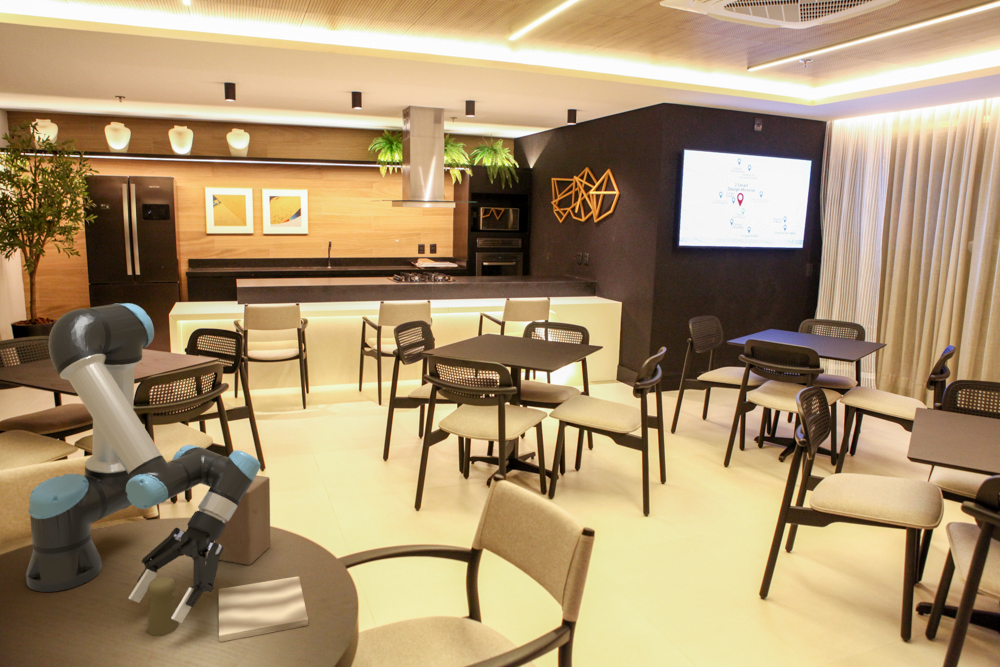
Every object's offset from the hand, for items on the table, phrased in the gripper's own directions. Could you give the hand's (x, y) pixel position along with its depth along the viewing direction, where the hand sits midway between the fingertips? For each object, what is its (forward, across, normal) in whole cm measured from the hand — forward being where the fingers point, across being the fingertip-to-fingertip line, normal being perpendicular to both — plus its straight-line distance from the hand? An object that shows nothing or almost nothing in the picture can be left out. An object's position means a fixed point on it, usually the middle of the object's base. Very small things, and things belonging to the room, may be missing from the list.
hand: (154, 610), depth 140 cm
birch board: (-9, -13, -16) cm, 22 cm away
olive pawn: (+2, 0, -5) cm, 6 cm away
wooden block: (-19, +10, -27) cm, 34 cm away
